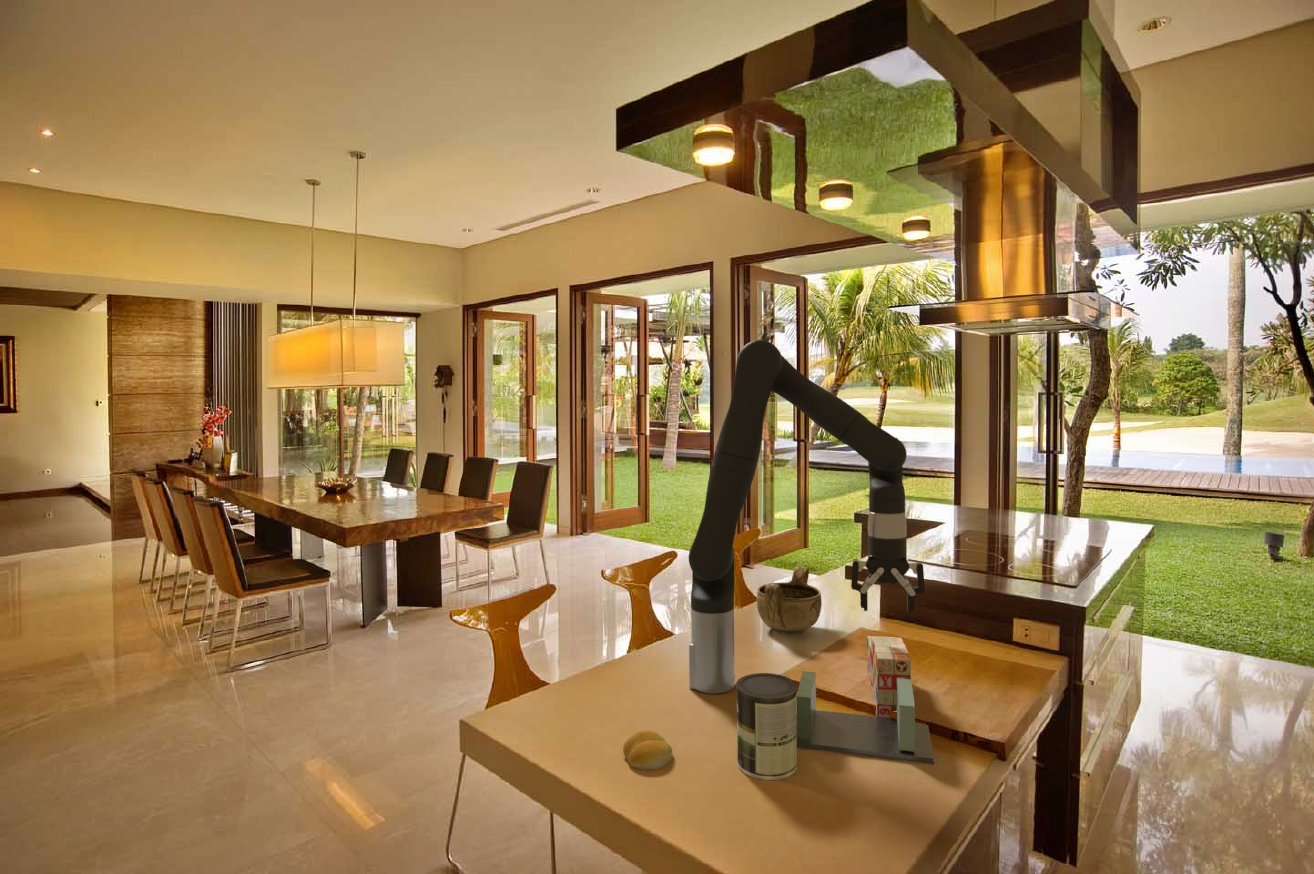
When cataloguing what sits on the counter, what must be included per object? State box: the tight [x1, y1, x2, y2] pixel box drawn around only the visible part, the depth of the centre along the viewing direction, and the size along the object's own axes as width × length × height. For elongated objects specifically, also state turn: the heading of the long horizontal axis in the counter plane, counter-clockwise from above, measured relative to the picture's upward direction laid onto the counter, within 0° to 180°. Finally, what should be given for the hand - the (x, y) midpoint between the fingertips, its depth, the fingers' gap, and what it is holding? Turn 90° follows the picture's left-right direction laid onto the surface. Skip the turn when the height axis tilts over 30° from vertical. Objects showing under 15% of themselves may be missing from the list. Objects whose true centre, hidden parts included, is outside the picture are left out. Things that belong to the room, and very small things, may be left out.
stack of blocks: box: [866, 635, 912, 718], centre depth 149 cm, size 21×6×12 cm, turn 169°
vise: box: [796, 670, 935, 765], centre depth 133 cm, size 24×14×9 cm, turn 74°
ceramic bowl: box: [756, 565, 823, 635], centre depth 191 cm, size 22×17×15 cm
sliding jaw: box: [897, 678, 916, 752], centre depth 130 cm, size 2×12×8 cm, turn 164°
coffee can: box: [735, 672, 798, 781], centre depth 123 cm, size 10×10×14 cm
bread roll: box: [622, 730, 673, 770], centre depth 127 cm, size 8×9×4 cm
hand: (887, 611), depth 148 cm, fingers open, 8 cm apart
